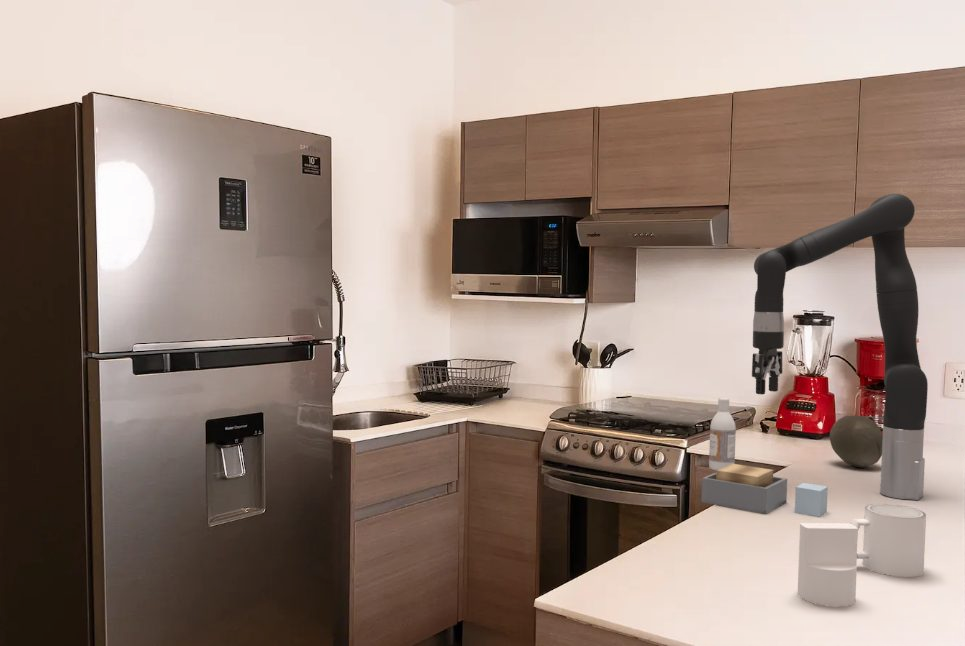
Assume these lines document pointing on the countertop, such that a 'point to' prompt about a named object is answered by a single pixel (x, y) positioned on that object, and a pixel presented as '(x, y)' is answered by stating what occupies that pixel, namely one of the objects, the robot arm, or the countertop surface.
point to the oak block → (746, 475)
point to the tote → (744, 494)
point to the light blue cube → (811, 499)
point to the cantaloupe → (857, 440)
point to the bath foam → (722, 437)
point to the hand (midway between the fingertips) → (767, 392)
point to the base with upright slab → (828, 563)
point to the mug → (893, 540)
